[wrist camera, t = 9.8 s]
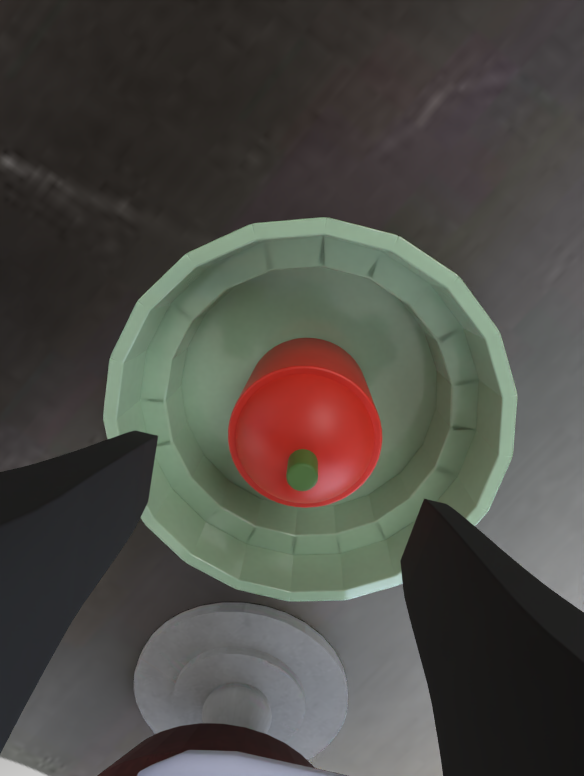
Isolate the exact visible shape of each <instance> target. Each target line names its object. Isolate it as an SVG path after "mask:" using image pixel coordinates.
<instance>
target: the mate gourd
mask: <svg viewBox="0 0 584 776" xmlns="http://www.w3.org/2000/svg"><path fill="white" fill-rule="evenodd" d="M134 693H135V698H136V703H137V706H138V708H139V710H140V712H141V714H142V716H143V718H144V720H145V721H146V723H147V724H148V725H149V727H150V728H151V729H152V731H153V732H154V733H155V735H153V736H151V737H149V738H147V739H146V740H144V741H143V742H141V743H140V744H139V745H137V746H136V747H135V748H133V749H132V750H131V751H129V752H128V753H127V754H125V755H124V756H123V757H122V758H120V759H119V760H118V761H116V762H115V763H114V764H112V765H111V766H110V767H108V768H107V769H106V770H104V771H103V772H102V773H100V774H99V775H98V776H137V775H138V773H139V772H140V771H141V770H143V769H145V768H147V767H149V766H151V765H153V764H155V763H158V762H160V761H163V760H165V759H168V758H170V757H173V756H175V755H177V754H180V753H182V752H185V751H187V750H212V751H238V752H242V753H247V754H252V755H256V756H261V757H265V758H270V759H274V760H279V761H284V762H288V763H293V764H297V765H302V766H306V767H311V768H314V767H313V766H312V765H311V764H310V763H309V762H308V761H307V760H308V759H310V758H312V757H313V756H315V755H316V754H318V753H319V752H321V751H322V750H323V749H325V748H326V747H327V746H328V745H329V744H330V743H331V742H332V740H333V739H334V738H335V737H336V736H337V734H338V732H339V731H340V729H341V727H342V725H343V724H344V721H345V717H346V713H347V709H348V688H347V679H346V676H345V672H344V668H343V665H342V663H341V661H340V659H339V658H338V656H337V654H336V652H335V650H334V649H333V648H332V647H331V646H330V644H329V643H328V642H327V641H326V640H325V639H324V638H323V636H322V635H320V634H319V633H318V632H317V631H315V630H314V629H313V628H311V627H310V626H309V625H308V624H306V623H305V622H303V621H301V620H299V619H297V618H295V617H293V616H291V615H289V614H287V613H285V612H282V611H279V610H276V609H273V608H270V607H267V606H262V605H256V604H250V603H237V602H221V603H215V604H209V605H203V606H199V607H196V608H193V609H190V610H187V611H185V612H182V613H180V614H178V615H177V616H175V617H173V618H172V619H170V620H168V621H166V622H165V623H164V624H163V625H162V626H161V627H160V628H159V629H157V630H156V631H155V632H154V633H153V634H152V636H151V637H150V639H149V640H148V642H147V643H146V645H145V646H144V648H143V650H142V653H141V655H140V657H139V660H138V663H137V666H136V669H135V672H134Z"/></svg>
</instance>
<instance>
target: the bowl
mask: <svg viewBox="0 0 584 776" xmlns="http://www.w3.org/2000/svg"><path fill="white" fill-rule="evenodd" d="M297 338H317V339H322V340H325V341H329V342H331V343H333V344H335V345H337V346H339V347H341V348H342V349H344V350H345V351H346V352H347V353H348V354H350V355H351V357H352V358H353V359H354V360H355V361H356V363H357V364H358V365H359V367H360V369H361V371H362V373H363V375H364V378H365V381H366V383H367V386H368V388H369V391H370V394H371V396H372V399H373V402H374V404H375V407H376V410H377V412H378V415H379V418H380V421H381V427H382V448H381V452H380V456H379V459H378V462H377V464H376V467H375V468H374V470H373V472H372V473H371V475H370V476H369V478H368V479H367V480H366V481H365V483H364V484H363V485H362V486H360V487H359V488H358V489H357V490H356V491H355V492H353V493H352V494H351V495H349V496H347V497H345V498H344V499H342V500H340V501H337V502H335V503H332V504H328V505H325V506H319V507H309V508H303V507H293V506H287V505H284V504H280V503H277V502H275V501H273V500H270V499H268V498H267V497H265V496H263V495H261V494H260V493H259V492H257V491H256V490H255V489H253V488H252V487H251V486H250V485H249V484H248V483H247V482H246V481H245V480H244V478H243V477H242V476H241V474H240V473H239V471H238V470H237V468H236V466H235V464H234V462H233V460H232V457H231V454H230V450H229V444H228V426H229V420H230V417H231V413H232V411H233V409H234V406H235V404H236V402H237V400H238V398H239V397H240V395H241V393H242V391H243V389H244V387H245V385H246V383H247V381H248V379H249V378H250V376H251V374H252V372H253V370H254V368H255V367H256V365H257V363H258V362H259V361H260V359H261V358H262V357H263V356H264V355H265V354H266V353H267V352H268V351H269V350H271V349H272V348H274V347H275V346H277V345H279V344H281V343H283V342H286V341H289V340H292V339H297ZM516 409H517V390H516V387H515V383H514V380H513V376H512V373H511V369H510V366H509V362H508V359H507V355H506V351H505V348H504V344H503V341H502V337H501V334H500V332H499V330H498V328H497V327H496V326H495V324H494V323H493V321H492V320H491V319H490V317H489V316H488V315H487V313H486V312H485V311H484V309H483V308H482V306H481V305H480V304H479V302H478V301H477V300H476V298H475V297H474V295H473V294H472V293H471V291H470V290H469V289H468V287H467V286H466V285H465V283H464V282H463V280H462V279H461V278H460V277H459V276H458V275H457V274H456V273H454V272H453V271H451V270H450V269H448V268H447V267H445V266H444V265H442V264H441V263H439V262H438V261H436V260H435V259H433V258H432V257H430V256H429V255H427V254H426V253H424V252H423V251H421V250H420V249H418V248H417V247H415V246H414V245H413V244H411V243H410V242H408V241H407V240H405V239H404V238H402V237H401V236H398V235H396V234H392V233H388V232H384V231H380V230H376V229H372V228H368V227H364V226H360V225H356V224H352V223H349V222H345V221H341V220H337V219H333V218H329V217H327V218H325V217H318V218H307V219H295V220H284V221H273V222H261V223H253V224H249V225H247V226H245V227H243V228H240V229H238V230H236V231H234V232H232V233H229V234H227V235H225V236H223V237H221V238H218V239H216V240H214V241H212V242H210V243H207V244H205V245H203V246H201V247H199V248H196V249H194V250H192V251H190V252H188V253H187V254H185V255H184V256H183V257H182V258H181V259H180V260H179V261H178V262H177V263H175V264H174V265H173V266H172V267H171V268H170V269H169V270H168V271H167V272H166V273H165V274H164V275H163V276H162V277H161V278H160V279H159V280H158V281H157V282H156V283H155V284H154V285H153V286H152V287H151V288H150V289H149V290H148V291H147V292H146V293H145V294H143V295H142V296H141V297H140V298H139V299H138V301H137V302H136V305H135V307H134V309H133V311H132V313H131V315H130V317H129V319H128V321H127V323H126V325H125V327H124V329H123V331H122V333H121V335H120V337H119V339H118V341H117V343H116V345H115V348H114V350H113V352H112V354H111V356H110V359H109V367H108V376H107V385H106V394H105V403H104V412H103V421H104V426H105V430H106V435H107V439H110V438H113V437H116V436H119V435H122V434H124V433H127V432H131V431H135V430H136V431H140V432H145V433H149V434H153V435H157V436H158V441H157V447H156V454H155V460H154V467H153V473H152V480H151V486H150V493H149V499H148V503H147V505H146V507H145V509H144V511H143V513H142V515H141V517H140V518H141V519H142V521H143V523H145V525H146V526H147V527H148V528H149V529H150V530H151V531H152V532H153V533H154V534H155V535H156V536H157V537H158V538H160V539H161V540H162V541H163V542H164V543H165V544H166V545H167V546H168V547H169V548H170V549H171V550H172V551H173V552H174V553H175V554H177V555H178V556H179V557H180V558H181V559H182V560H183V561H184V562H186V563H187V564H189V565H191V566H192V567H194V568H196V569H198V570H200V571H202V572H204V573H206V574H208V575H209V576H211V577H213V578H215V579H217V580H219V581H221V582H223V583H225V584H226V585H228V586H230V587H232V588H235V589H237V590H241V591H246V592H250V593H254V594H258V595H263V596H267V597H271V598H275V599H280V600H284V601H291V602H297V601H340V600H349V599H353V598H356V597H360V596H363V595H367V594H370V593H374V592H377V591H381V590H384V589H388V588H391V587H395V586H398V585H400V584H402V583H403V582H402V572H401V563H400V560H401V558H402V555H403V552H404V550H405V547H406V545H407V542H408V539H409V537H410V534H411V531H412V529H413V526H414V524H415V521H416V518H417V516H418V513H419V511H420V508H421V505H422V503H423V500H424V499H428V500H432V501H437V502H441V503H445V504H447V505H449V506H450V507H452V508H453V509H454V510H456V511H457V512H458V513H460V514H461V515H462V516H463V517H464V518H466V519H467V520H468V521H469V522H470V523H471V524H473V525H474V526H476V525H477V523H478V522H479V521H480V520H481V519H482V518H483V517H484V516H485V514H486V513H487V512H488V510H489V509H490V507H491V504H492V502H493V500H494V498H495V495H496V493H497V491H498V488H499V486H500V484H501V482H502V479H503V477H504V475H505V473H506V470H507V468H508V466H509V464H510V461H511V459H512V456H513V447H514V434H515V422H516Z"/></svg>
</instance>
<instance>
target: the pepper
mask: <svg viewBox="0 0 584 776" xmlns="http://www.w3.org/2000/svg"><path fill="white" fill-rule="evenodd" d="M228 444H229V450H230V454H231V457H232V460H233V462H234V464H235V466H236V468H237V470H238V471H239V473H240V474H241V476H242V477H243V478H244V480H245V481H246V482H247V483H248V484H249V485H250V486H251V487H252V488H253V489H255V490H256V491H257V492H259V493H260V494H261V495H263V496H265V497H267V498H268V499H270V500H273V501H275V502H277V503H280V504H284V505H287V506H293V507H303V508H309V507H319V506H325V505H328V504H332V503H335V502H337V501H340V500H342V499H344V498H345V497H347V496H349V495H351V494H352V493H353V492H355V491H356V490H357V489H358V488H359V487H360V486H362V485H363V484H364V483H365V481H366V480H367V479H368V478H369V476H370V475H371V473H372V472H373V470H374V468H375V467H376V464H377V462H378V459H379V456H380V452H381V448H382V427H381V421H380V418H379V415H378V412H377V410H376V407H375V404H374V402H373V399H372V396H371V394H370V391H369V388H368V386H367V383H366V381H365V378H364V375H363V373H362V371H361V369H360V367H359V365H358V364H357V363H356V361H355V360H354V359H353V358H352V357H351V355H350V354H348V353H347V352H346V351H345V350H344V349H342V348H341V347H339V346H337V345H335V344H333V343H331V342H329V341H325V340H322V339H317V338H297V339H292V340H289V341H286V342H283V343H281V344H279V345H277V346H275V347H274V348H272V349H271V350H269V351H268V352H267V353H266V354H265V355H264V356H263V357H262V358H261V359H260V361H259V362H258V363H257V365H256V367H255V368H254V370H253V372H252V374H251V376H250V378H249V379H248V381H247V383H246V385H245V387H244V389H243V391H242V393H241V395H240V397H239V398H238V400H237V402H236V404H235V406H234V409H233V411H232V413H231V417H230V420H229V426H228Z"/></svg>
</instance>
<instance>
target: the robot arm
mask: <svg viewBox="0 0 584 776" xmlns="http://www.w3.org/2000/svg"><path fill="white" fill-rule="evenodd" d="M157 441H158V436H157V435H153V434H149V433H145V432H140V431H136V430H135V431H131V432H127V433H124V434H122V435H119V436H116V437H113V438H110V439H108V440H105V441H102V442H100V443H97V444H94V445H91V446H88V447H86V448H83V449H80V450H77V451H74V452H71V453H68V454H65V455H62V456H59V457H55V458H52V459H49V460H46V461H43V462H39V463H36V464H32V465H29V466H25V467H21V468H17V469H13V470H8V471H4V472H0V753H1V751H2V749H3V747H4V745H5V744H6V742H7V740H8V738H9V736H10V734H11V732H12V730H13V728H14V726H15V724H16V722H17V720H18V718H19V716H20V715H21V713H22V711H23V709H24V707H25V705H26V703H27V702H28V700H29V698H30V696H31V694H32V692H33V690H34V689H35V687H36V685H37V683H38V681H39V679H40V677H41V676H42V674H43V672H44V670H45V668H46V666H47V664H48V663H49V661H50V659H51V657H52V656H53V654H54V652H55V650H56V648H57V647H58V645H59V643H60V641H61V640H62V638H63V636H64V634H65V632H66V631H67V629H68V627H69V625H70V624H71V622H72V620H73V619H74V617H75V616H76V614H77V613H78V611H79V610H80V608H81V606H82V605H83V603H84V602H85V601H86V599H87V598H88V596H89V595H90V593H91V592H92V591H93V589H94V588H95V586H96V585H97V583H98V582H99V581H100V579H101V578H102V576H103V575H104V573H105V572H106V571H107V569H108V568H109V566H110V565H111V563H112V562H113V561H114V559H115V558H116V556H117V555H118V553H119V552H120V551H121V549H122V548H123V546H124V545H125V543H126V542H127V540H128V539H129V537H130V536H131V534H132V533H133V531H134V529H135V527H136V525H137V523H138V521H139V519H140V517H141V515H142V513H143V511H144V509H145V507H146V505H147V503H148V499H149V493H150V486H151V480H152V473H153V467H154V460H155V454H156V447H157ZM400 563H401V572H402V582H403V589H404V596H405V601H406V605H407V609H408V613H409V616H410V620H411V624H412V628H413V632H414V635H415V639H416V643H417V647H418V650H419V654H420V658H421V661H422V665H423V669H424V673H425V676H426V680H427V684H428V688H429V693H430V697H431V702H432V707H433V713H434V719H435V725H436V731H437V737H438V743H439V749H440V756H441V763H442V770H443V776H584V613H583V612H582V611H581V610H579V609H578V608H576V607H575V606H573V605H572V604H571V603H569V602H568V601H566V600H565V599H563V598H562V597H561V596H559V595H558V594H556V593H555V592H554V591H552V590H551V589H550V588H548V587H547V586H546V585H544V584H543V583H542V582H541V581H539V580H538V579H537V578H535V577H534V576H533V575H532V574H530V573H529V572H528V571H527V570H525V569H524V568H523V567H522V566H520V565H519V564H518V563H517V562H516V561H514V560H513V559H512V558H511V557H510V556H508V555H507V554H506V553H505V552H504V551H503V550H501V549H500V548H499V547H498V546H497V545H496V544H494V543H493V542H492V541H491V540H490V539H489V538H488V537H486V536H485V535H484V534H483V533H482V532H481V531H480V530H478V529H477V528H476V527H475V526H474V525H473V524H471V523H470V522H469V521H468V520H467V519H466V518H464V517H463V516H462V515H461V514H460V513H458V512H457V511H456V510H454V509H453V508H452V507H450V506H449V505H447V504H445V503H441V502H437V501H432V500H428V499H424V500H423V503H422V505H421V508H420V511H419V513H418V516H417V518H416V521H415V524H414V526H413V529H412V531H411V534H410V537H409V539H408V542H407V545H406V547H405V550H404V552H403V555H402V558H401V560H400ZM137 776H347V775H343V774H338V773H334V772H329V771H325V770H320V769H315V768H311V767H306V766H302V765H297V764H293V763H288V762H284V761H279V760H274V759H270V758H265V757H261V756H256V755H252V754H247V753H242V752H238V751H212V750H187V751H185V752H182V753H180V754H177V755H175V756H173V757H170V758H168V759H165V760H163V761H160V762H158V763H155V764H153V765H151V766H149V767H147V768H145V769H143V770H141V771H140V772H139V773H138V775H137Z"/></svg>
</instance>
